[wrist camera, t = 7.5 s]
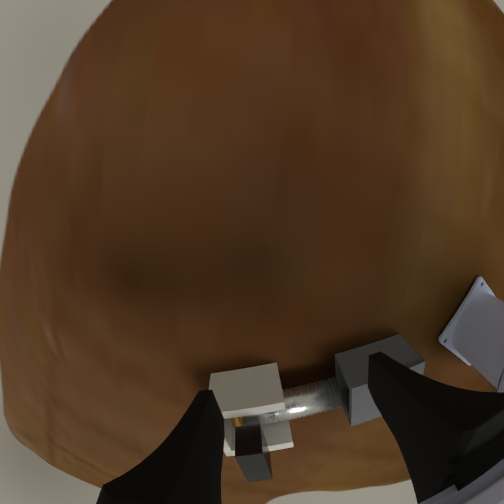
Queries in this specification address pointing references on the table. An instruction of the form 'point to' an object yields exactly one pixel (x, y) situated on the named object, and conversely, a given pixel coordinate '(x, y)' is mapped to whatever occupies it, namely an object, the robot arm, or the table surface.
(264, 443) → the silver cylinder with handle
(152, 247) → the table surface
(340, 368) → the charcoal sleeve
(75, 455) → the table surface
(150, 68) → the table surface
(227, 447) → the ceramic socket
